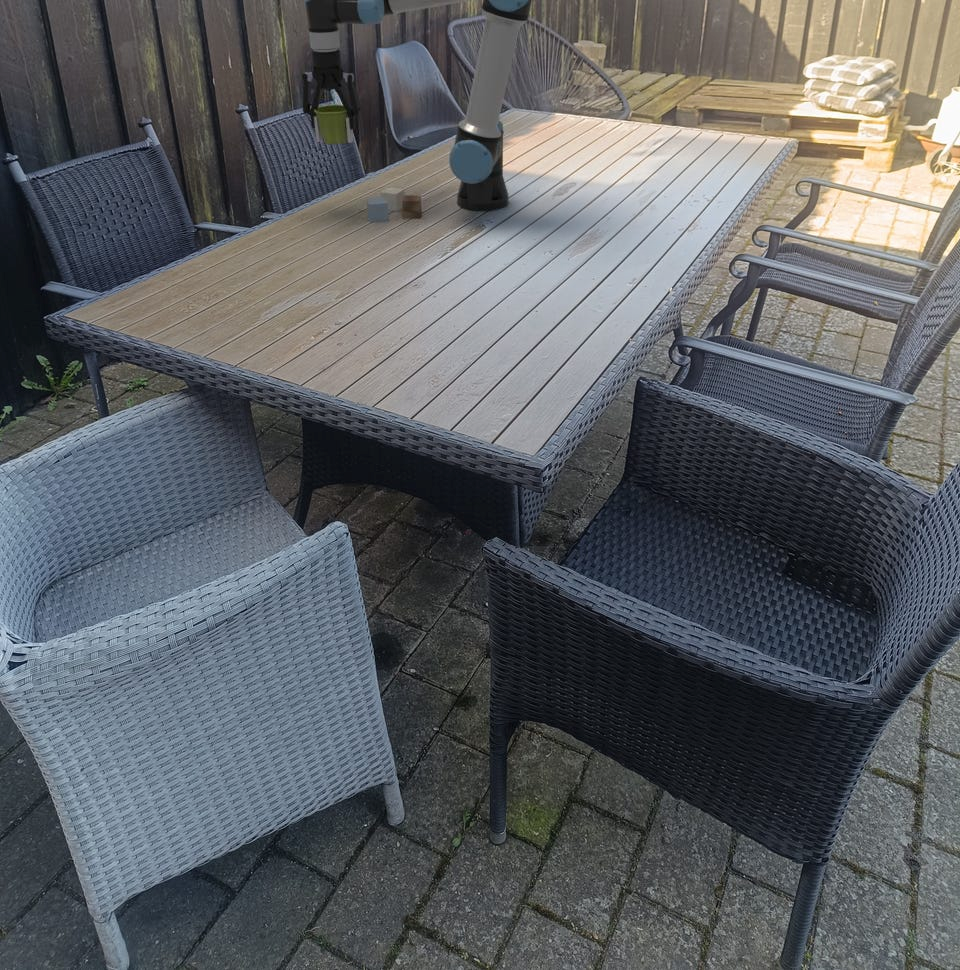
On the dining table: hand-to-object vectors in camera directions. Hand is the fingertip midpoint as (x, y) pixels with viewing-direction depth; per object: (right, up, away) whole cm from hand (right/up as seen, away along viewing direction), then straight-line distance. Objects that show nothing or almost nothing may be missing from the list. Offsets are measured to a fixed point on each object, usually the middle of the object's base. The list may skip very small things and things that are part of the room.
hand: (335, 141), depth 231 cm
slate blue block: (+11, -20, +6) cm, 23 cm away
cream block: (+15, -14, +13) cm, 24 cm away
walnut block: (+21, -18, +8) cm, 29 cm away
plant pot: (0, 0, 0) cm, 0 cm away
